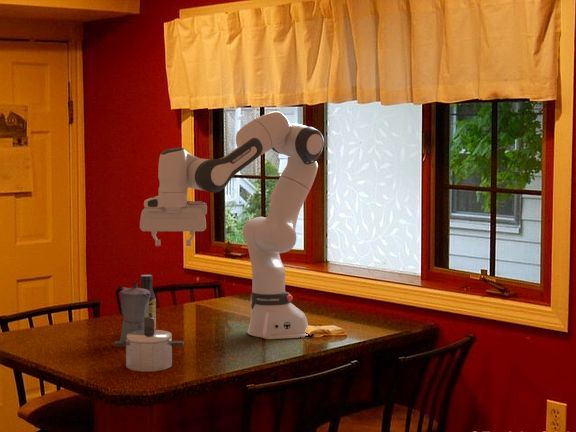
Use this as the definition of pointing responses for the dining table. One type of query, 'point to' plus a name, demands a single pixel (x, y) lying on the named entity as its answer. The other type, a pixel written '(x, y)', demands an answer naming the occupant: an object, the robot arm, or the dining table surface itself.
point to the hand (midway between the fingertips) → (173, 245)
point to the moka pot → (132, 308)
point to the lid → (149, 334)
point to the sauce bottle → (147, 284)
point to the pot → (148, 355)
